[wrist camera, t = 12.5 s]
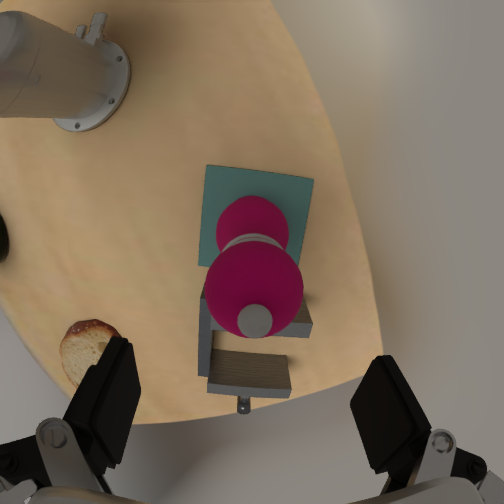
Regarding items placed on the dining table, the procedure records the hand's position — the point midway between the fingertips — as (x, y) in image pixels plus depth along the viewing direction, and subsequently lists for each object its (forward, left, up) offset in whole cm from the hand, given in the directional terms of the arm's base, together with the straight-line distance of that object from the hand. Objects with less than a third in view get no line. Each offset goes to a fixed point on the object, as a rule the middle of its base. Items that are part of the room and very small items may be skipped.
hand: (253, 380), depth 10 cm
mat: (0, +1, -24) cm, 24 cm away
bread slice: (+28, -24, -25) cm, 45 cm away
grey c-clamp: (+19, +2, -24) cm, 31 cm away
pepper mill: (0, 0, -24) cm, 24 cm away
